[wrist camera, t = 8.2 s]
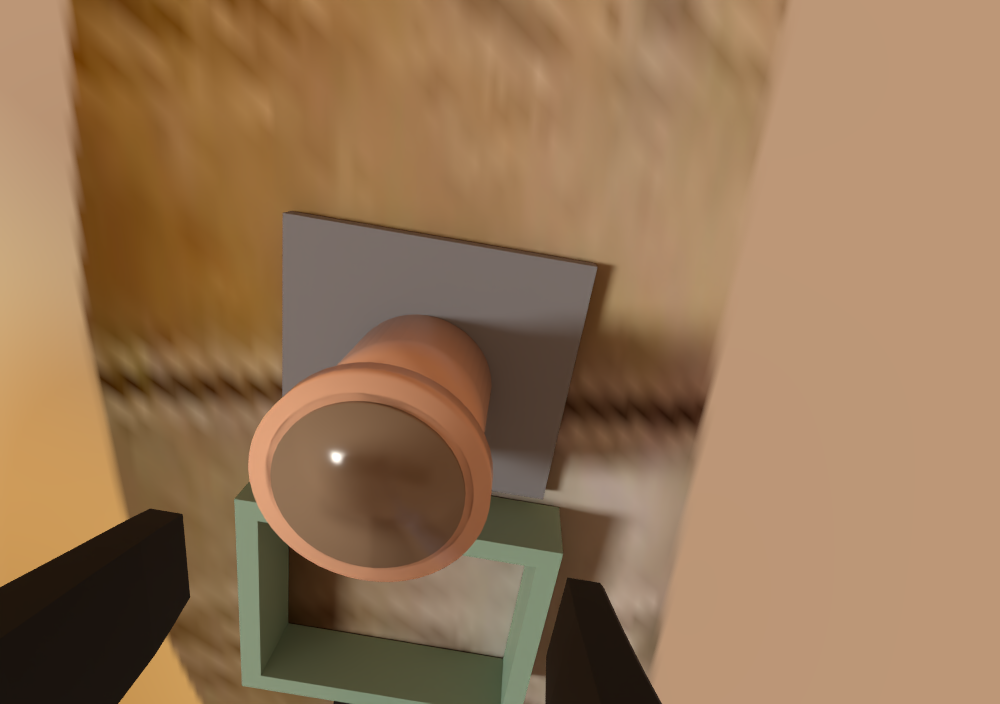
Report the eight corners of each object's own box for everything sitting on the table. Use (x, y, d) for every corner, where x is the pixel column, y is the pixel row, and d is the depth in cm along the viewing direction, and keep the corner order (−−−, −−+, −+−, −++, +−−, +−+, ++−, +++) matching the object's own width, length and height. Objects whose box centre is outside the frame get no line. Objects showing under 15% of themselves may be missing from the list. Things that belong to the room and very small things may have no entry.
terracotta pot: (489, 466, 18) (471, 602, 13) (335, 439, 18) (248, 565, 13) (516, 318, 16) (509, 403, 11) (342, 289, 16) (241, 358, 11)
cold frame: (517, 673, 23) (516, 730, 21) (271, 632, 23) (242, 685, 21) (558, 507, 20) (562, 554, 17) (269, 458, 20) (234, 499, 17)
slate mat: (542, 489, 19) (542, 499, 19) (289, 447, 19) (282, 455, 19) (595, 263, 16) (597, 267, 16) (291, 211, 16) (282, 212, 16)
